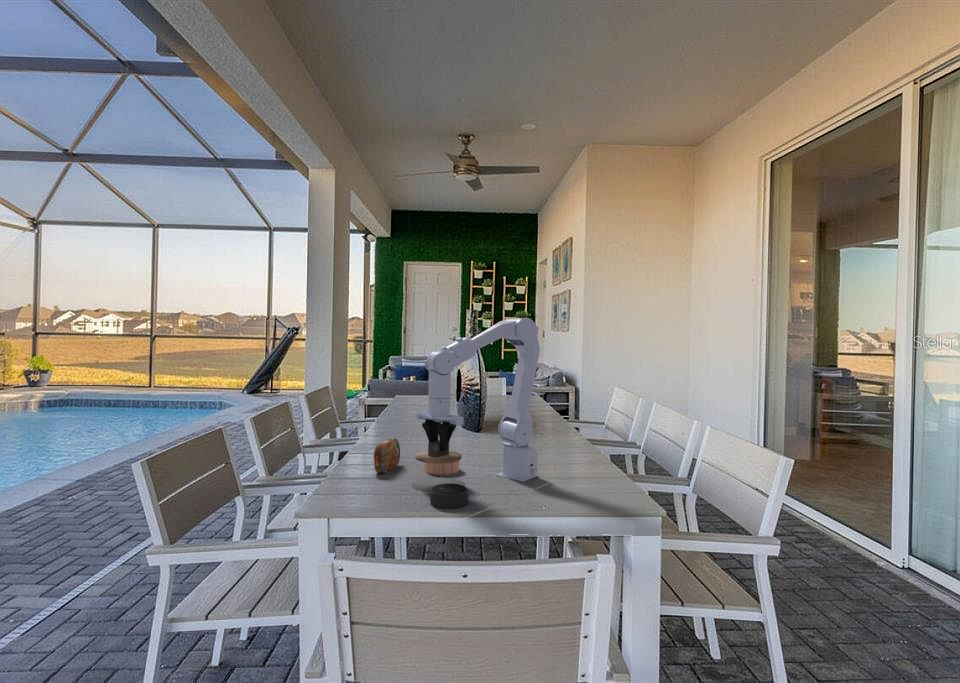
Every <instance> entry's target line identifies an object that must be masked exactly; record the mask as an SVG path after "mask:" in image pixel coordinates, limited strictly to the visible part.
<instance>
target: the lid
mask: <svg viewBox="0 0 960 683" xmlns="http://www.w3.org/2000/svg"><path fill="white" fill-rule="evenodd" d="M427 447H428V448H427V449H428V450H423V451H419V452H417V453H415V460H416V461H418V462H422V463H424V462H425V463H452V462H457V461H459V460H460V461H461V460H462V458H463V457H462V454H461V453H460V452H458V451H453V450H450V444H449V445H448V449H447V451H443V452H442V451H440V440H439V439H438V441H433V442H429V441H428V443H427Z"/></svg>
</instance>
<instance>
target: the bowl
mask: <svg viewBox="0 0 960 683" xmlns="http://www.w3.org/2000/svg"><path fill="white" fill-rule="evenodd" d="M423 471H424V472H425V473H426V474H431V475H434V476H435V475H439V476H446V475H447V476H448V475H455V474H458V473H459V472H460V471H461V460H459V461H457V462H452V463H425V462H423Z"/></svg>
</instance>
